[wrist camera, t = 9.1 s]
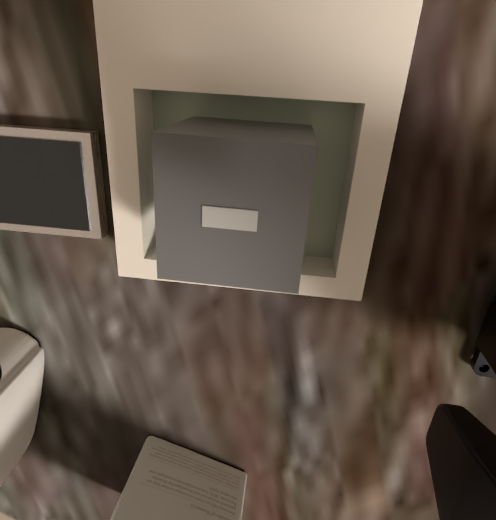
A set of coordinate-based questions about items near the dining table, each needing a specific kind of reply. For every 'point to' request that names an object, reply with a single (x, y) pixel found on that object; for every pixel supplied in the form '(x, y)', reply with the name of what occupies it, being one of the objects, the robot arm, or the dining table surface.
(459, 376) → the dining table surface
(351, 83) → the white grey flat device
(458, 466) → the robot arm
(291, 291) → the block
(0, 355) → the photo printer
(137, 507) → the supplement box
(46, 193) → the phone slab
